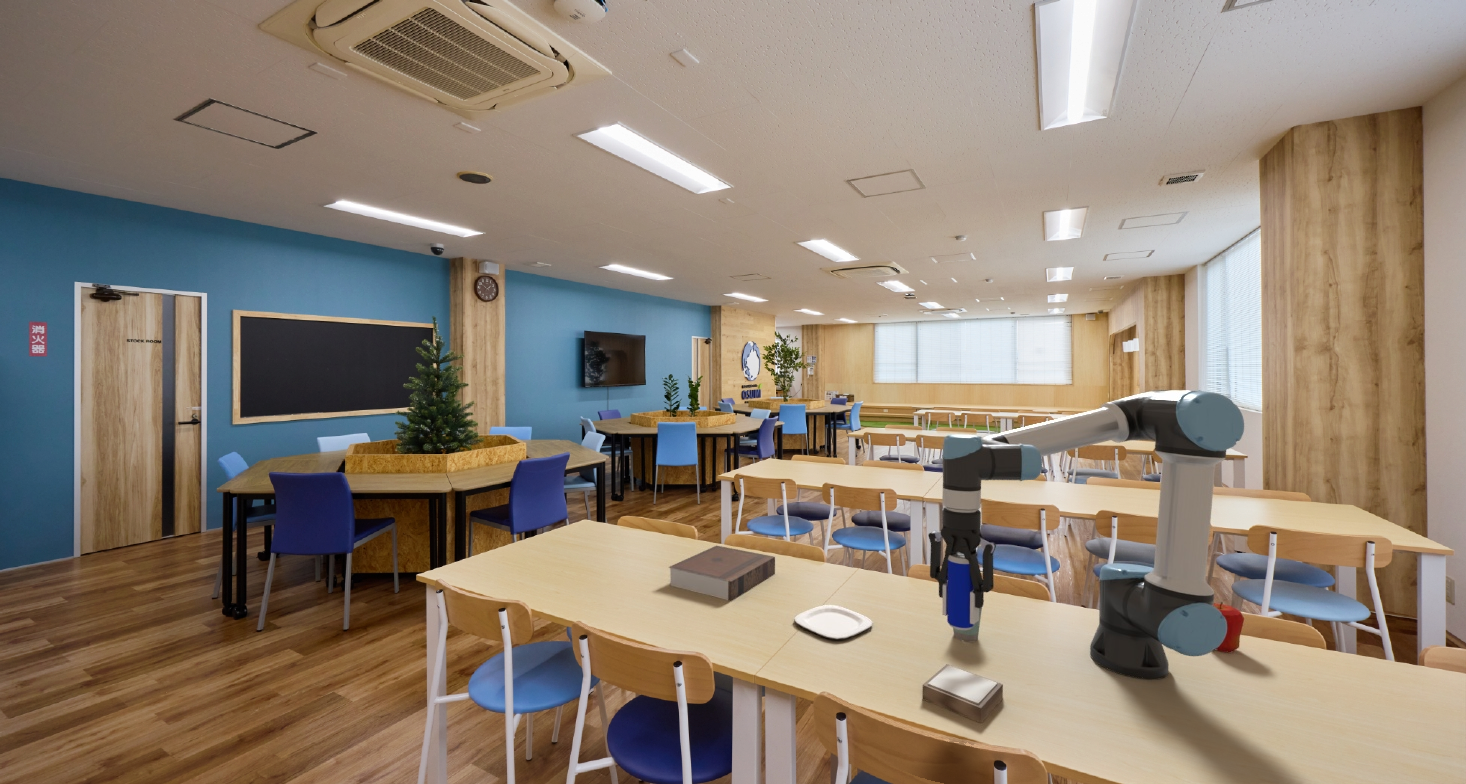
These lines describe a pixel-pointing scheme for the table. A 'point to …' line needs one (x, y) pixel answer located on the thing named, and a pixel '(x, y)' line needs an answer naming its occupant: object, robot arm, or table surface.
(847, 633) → the plate
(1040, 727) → the table surface
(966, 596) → the beverage can
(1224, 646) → the apple
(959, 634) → the coffee cup
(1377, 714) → the table surface
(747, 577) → the book
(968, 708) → the stand
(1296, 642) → the table surface
